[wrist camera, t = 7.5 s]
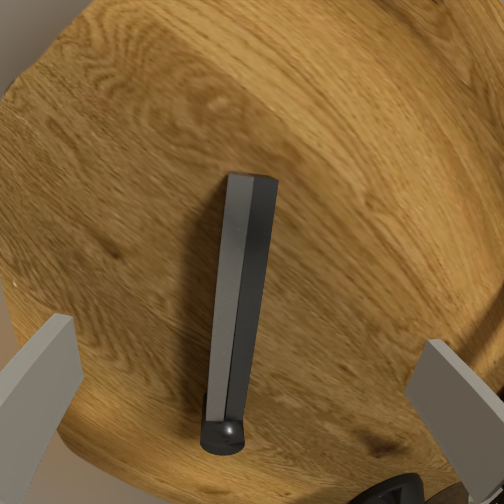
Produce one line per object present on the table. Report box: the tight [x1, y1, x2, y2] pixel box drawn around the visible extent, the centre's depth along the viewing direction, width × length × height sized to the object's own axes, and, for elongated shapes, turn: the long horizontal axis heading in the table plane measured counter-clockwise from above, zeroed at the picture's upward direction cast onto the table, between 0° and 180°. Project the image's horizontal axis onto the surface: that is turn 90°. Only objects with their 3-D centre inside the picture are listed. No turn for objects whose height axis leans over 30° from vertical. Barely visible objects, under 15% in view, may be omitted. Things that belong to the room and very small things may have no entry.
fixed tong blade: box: [200, 173, 279, 456], centre depth 24 cm, size 24×4×6 cm, turn 173°
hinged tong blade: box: [206, 171, 254, 422], centre depth 23 cm, size 20×2×5 cm, turn 172°
